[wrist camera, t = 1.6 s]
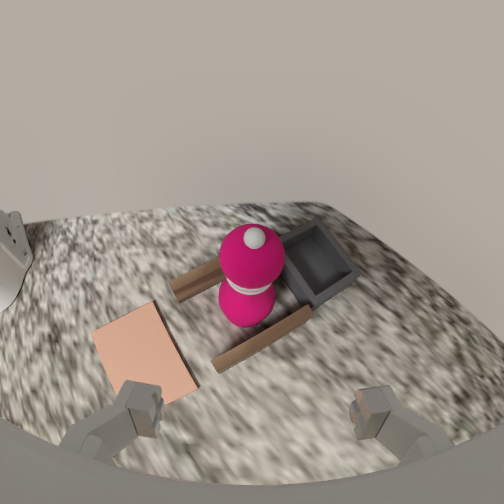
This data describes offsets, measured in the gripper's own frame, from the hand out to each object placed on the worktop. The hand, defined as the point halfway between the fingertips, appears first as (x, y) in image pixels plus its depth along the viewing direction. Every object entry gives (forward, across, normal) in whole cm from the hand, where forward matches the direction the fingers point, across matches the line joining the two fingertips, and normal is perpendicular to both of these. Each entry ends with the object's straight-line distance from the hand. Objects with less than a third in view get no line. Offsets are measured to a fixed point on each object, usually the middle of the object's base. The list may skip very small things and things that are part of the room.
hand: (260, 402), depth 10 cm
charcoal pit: (+33, -9, +6) cm, 34 cm away
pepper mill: (+28, 0, +10) cm, 30 cm away
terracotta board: (+22, +15, +17) cm, 31 cm away
